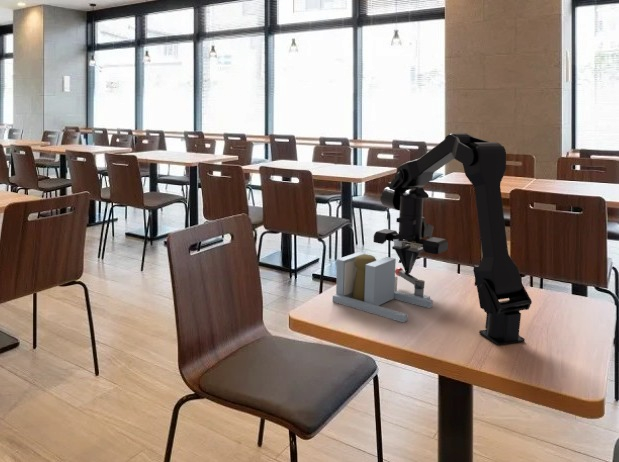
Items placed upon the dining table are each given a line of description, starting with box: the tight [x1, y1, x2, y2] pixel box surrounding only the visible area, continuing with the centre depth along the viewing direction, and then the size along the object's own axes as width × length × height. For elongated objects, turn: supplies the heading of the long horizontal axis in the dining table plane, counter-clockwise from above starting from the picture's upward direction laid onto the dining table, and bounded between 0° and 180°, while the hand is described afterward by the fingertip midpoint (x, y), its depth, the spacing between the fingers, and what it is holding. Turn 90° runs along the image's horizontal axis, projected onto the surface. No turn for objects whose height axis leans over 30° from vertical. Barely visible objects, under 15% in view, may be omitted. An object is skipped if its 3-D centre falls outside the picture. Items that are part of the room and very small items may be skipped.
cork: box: [351, 254, 377, 302], centre depth 129 cm, size 6×6×11 cm
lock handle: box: [395, 267, 425, 289], centre depth 135 cm, size 13×2×2 cm, turn 18°
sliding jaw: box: [364, 256, 397, 306], centre depth 126 cm, size 3×9×10 cm, turn 140°
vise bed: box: [332, 251, 433, 323], centre depth 128 cm, size 20×18×10 cm
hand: (408, 273), depth 138 cm, fingers closed
